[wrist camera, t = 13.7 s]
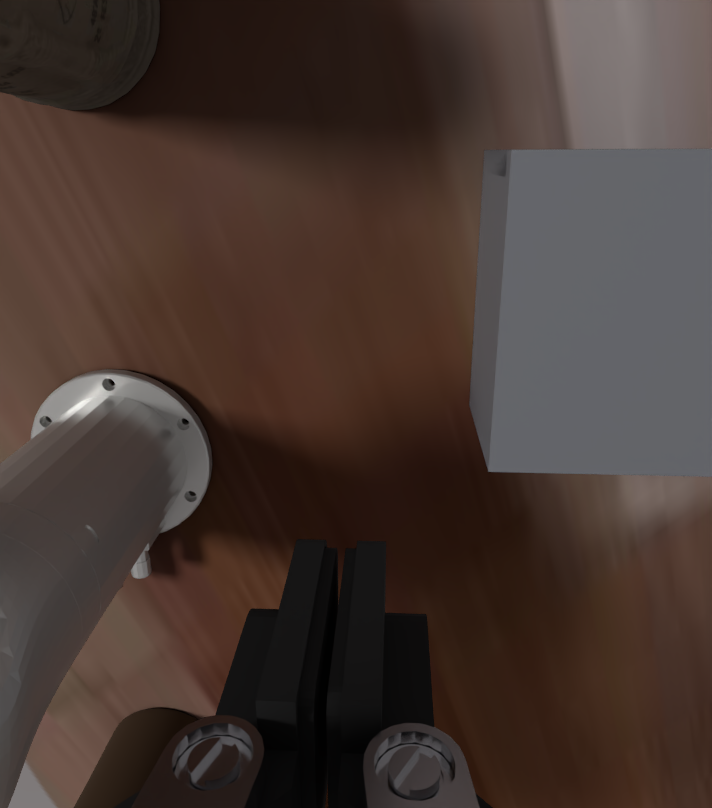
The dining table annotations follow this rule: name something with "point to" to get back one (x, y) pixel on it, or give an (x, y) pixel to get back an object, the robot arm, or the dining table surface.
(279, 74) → the dining table surface
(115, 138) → the dining table surface
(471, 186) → the dining table surface
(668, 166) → the grey cabinet
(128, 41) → the beer stein
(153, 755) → the olive oil
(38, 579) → the robot arm
